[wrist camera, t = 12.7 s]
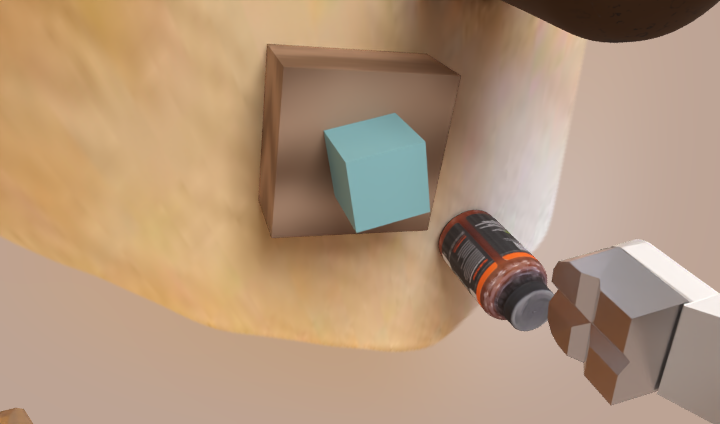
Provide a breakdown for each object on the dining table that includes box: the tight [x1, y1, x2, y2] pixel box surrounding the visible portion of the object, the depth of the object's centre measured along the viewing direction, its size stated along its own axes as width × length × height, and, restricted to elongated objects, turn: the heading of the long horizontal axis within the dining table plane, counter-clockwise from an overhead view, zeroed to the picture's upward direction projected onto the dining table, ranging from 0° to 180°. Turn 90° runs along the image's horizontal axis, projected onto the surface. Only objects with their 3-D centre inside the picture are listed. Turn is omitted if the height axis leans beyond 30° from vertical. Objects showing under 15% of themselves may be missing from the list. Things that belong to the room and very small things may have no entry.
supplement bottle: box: [439, 210, 554, 331], centre depth 48 cm, size 6×6×11 cm
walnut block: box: [259, 44, 461, 238], centre depth 42 cm, size 12×12×6 cm
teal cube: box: [324, 113, 430, 233], centre depth 37 cm, size 5×5×5 cm
